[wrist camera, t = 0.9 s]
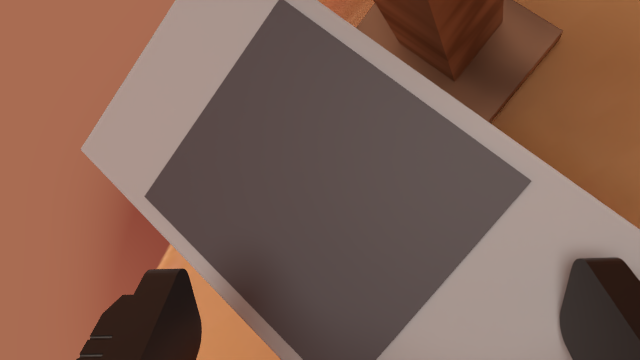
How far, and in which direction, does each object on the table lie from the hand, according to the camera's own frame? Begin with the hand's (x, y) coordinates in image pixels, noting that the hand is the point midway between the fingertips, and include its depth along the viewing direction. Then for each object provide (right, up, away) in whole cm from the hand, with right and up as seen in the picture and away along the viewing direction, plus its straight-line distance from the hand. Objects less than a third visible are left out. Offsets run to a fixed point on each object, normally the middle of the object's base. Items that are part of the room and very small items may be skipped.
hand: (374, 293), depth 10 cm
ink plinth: (+9, -1, +24) cm, 26 cm away
